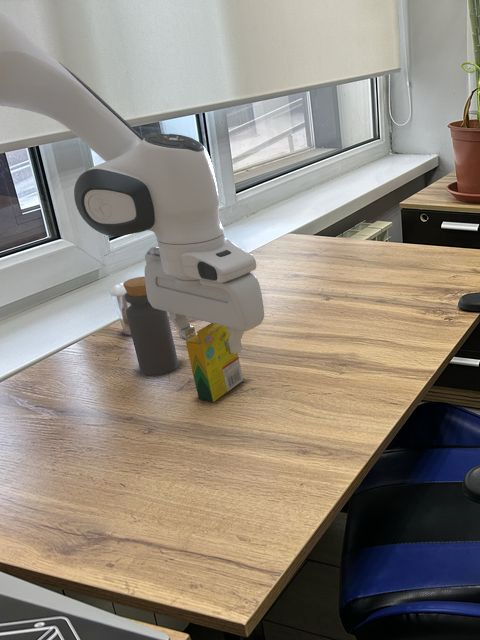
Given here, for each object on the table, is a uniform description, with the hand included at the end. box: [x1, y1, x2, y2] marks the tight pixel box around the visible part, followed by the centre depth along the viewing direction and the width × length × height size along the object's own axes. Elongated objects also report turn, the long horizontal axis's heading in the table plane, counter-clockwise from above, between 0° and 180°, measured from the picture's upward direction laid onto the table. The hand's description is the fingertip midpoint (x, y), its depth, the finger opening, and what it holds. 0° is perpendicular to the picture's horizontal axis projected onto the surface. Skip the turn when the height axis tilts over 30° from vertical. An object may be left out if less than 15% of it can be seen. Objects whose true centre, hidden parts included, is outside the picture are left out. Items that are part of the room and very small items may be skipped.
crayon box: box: [185, 323, 244, 403], centre depth 106 cm, size 7×3×12 cm, turn 159°
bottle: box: [122, 276, 179, 377], centre depth 112 cm, size 6×6×15 cm
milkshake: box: [109, 282, 132, 336], centre depth 127 cm, size 5×5×10 cm
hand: (210, 345), depth 105 cm, fingers open, 8 cm apart
